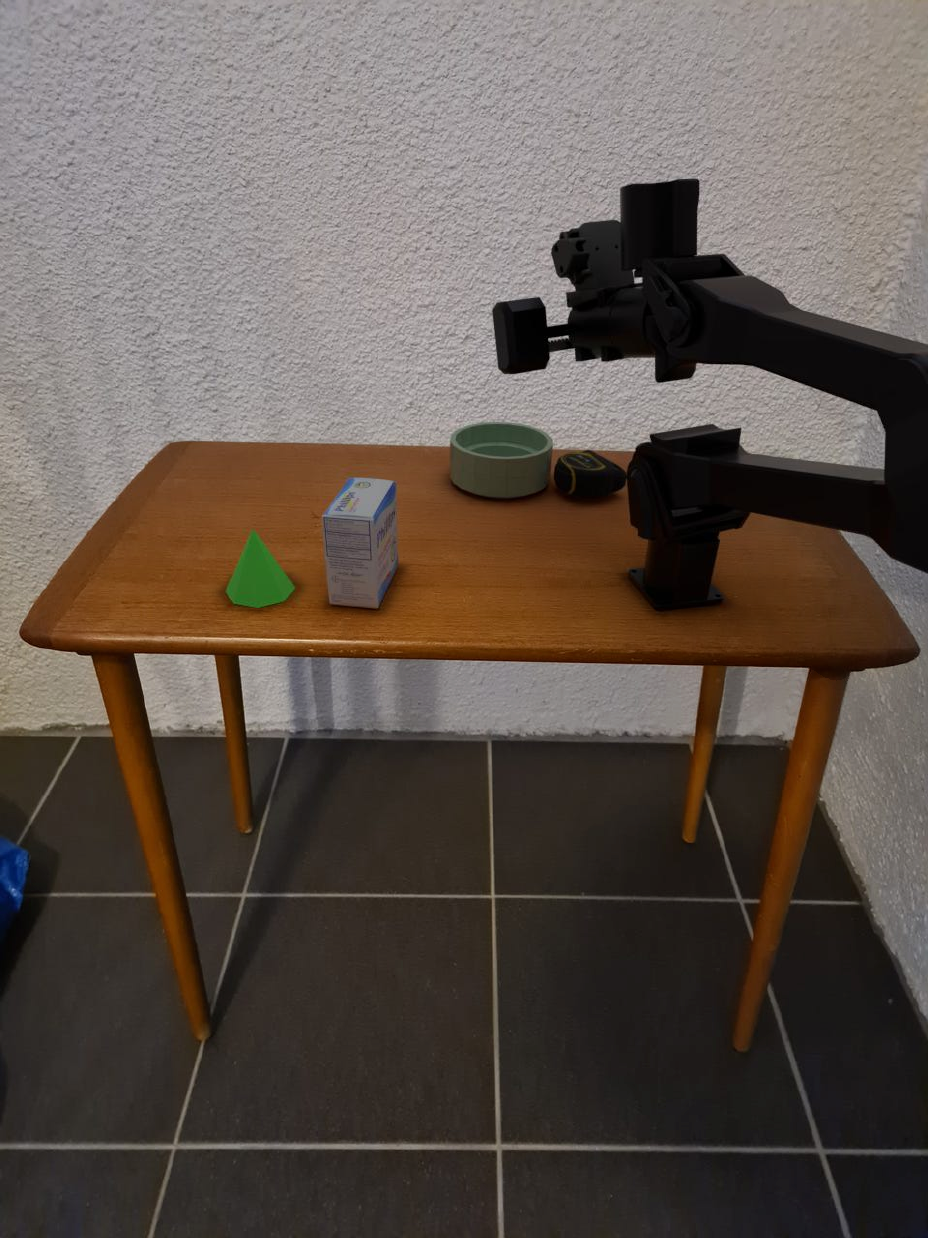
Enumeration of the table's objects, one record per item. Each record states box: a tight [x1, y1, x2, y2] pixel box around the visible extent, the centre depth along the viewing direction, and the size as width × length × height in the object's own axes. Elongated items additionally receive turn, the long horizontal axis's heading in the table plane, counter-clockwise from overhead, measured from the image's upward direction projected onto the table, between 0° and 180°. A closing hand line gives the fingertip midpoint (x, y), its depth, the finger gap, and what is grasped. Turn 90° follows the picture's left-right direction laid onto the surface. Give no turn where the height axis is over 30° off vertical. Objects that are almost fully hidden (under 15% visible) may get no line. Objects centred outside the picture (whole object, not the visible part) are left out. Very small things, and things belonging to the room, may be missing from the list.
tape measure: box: [553, 449, 627, 499], centre depth 90 cm, size 7×7×4 cm
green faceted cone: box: [225, 528, 296, 609], centre depth 71 cm, size 6×6×6 cm
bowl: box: [449, 421, 554, 499], centre depth 92 cm, size 11×11×5 cm
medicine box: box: [321, 477, 399, 610], centre depth 71 cm, size 8×4×9 cm, turn 171°
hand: (541, 328), depth 84 cm, fingers open, 9 cm apart
